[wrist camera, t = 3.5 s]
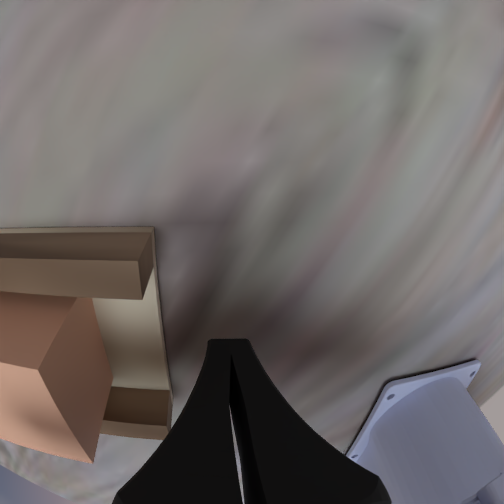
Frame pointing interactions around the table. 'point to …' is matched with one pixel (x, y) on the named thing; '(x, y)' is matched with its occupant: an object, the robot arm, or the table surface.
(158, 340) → the chute
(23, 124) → the table surface
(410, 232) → the table surface
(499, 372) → the table surface
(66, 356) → the block
